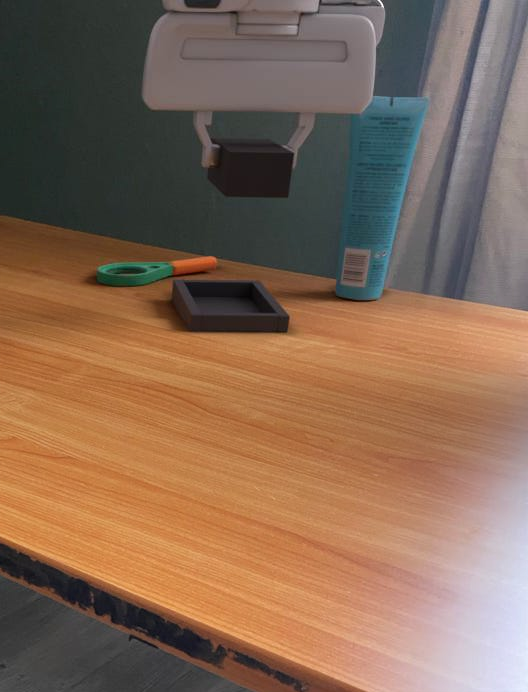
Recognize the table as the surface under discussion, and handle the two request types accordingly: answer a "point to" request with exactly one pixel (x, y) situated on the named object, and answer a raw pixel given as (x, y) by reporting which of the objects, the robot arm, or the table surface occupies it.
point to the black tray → (228, 306)
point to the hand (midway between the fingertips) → (247, 167)
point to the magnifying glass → (151, 270)
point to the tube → (376, 191)
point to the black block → (252, 168)
